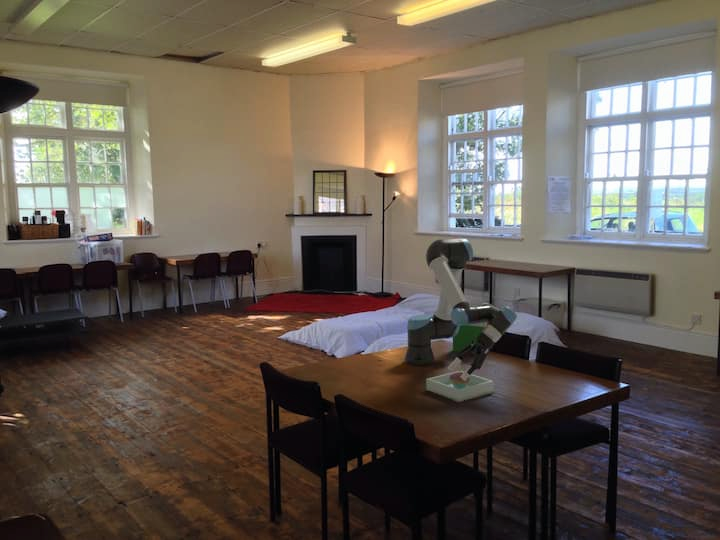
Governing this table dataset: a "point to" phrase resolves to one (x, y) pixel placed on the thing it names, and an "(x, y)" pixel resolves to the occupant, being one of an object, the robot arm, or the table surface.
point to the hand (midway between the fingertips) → (455, 374)
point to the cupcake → (458, 380)
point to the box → (446, 389)
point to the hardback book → (467, 335)
